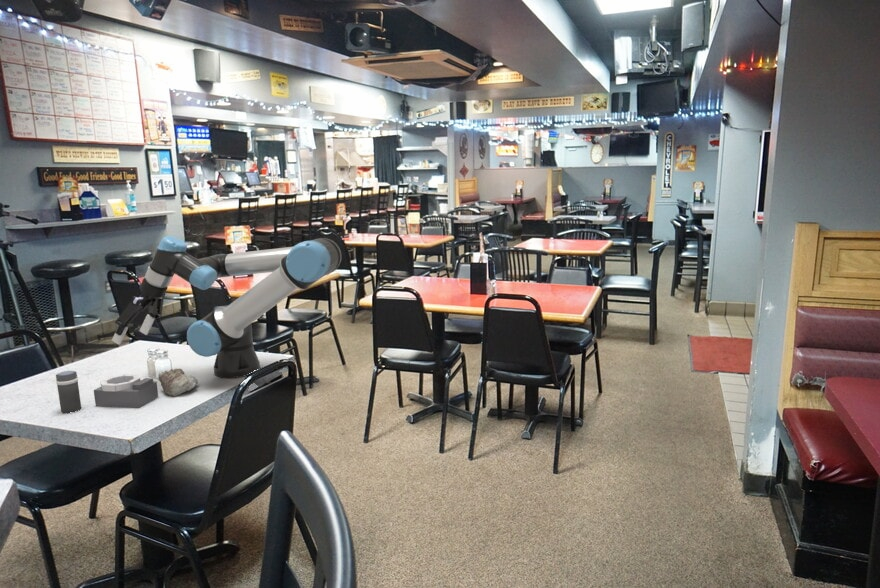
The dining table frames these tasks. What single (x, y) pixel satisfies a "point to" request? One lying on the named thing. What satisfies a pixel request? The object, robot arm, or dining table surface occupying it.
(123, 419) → the dining table surface
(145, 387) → the pen holder base
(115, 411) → the dining table surface
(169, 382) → the grey brown rock
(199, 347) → the robot arm
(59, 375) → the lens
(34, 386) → the dining table surface
